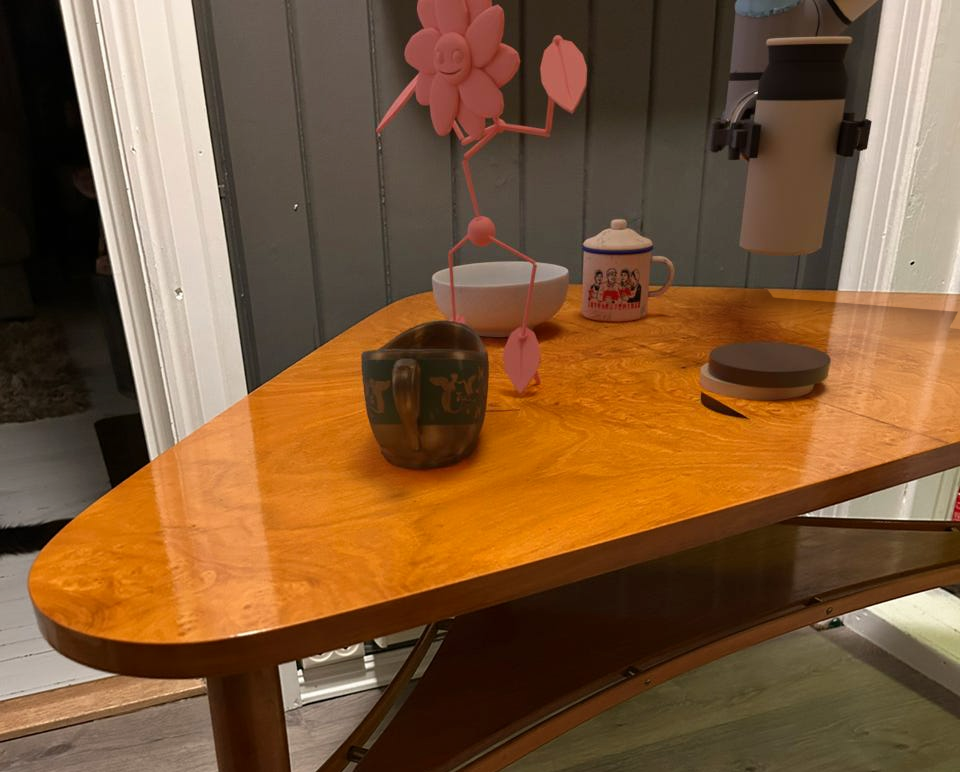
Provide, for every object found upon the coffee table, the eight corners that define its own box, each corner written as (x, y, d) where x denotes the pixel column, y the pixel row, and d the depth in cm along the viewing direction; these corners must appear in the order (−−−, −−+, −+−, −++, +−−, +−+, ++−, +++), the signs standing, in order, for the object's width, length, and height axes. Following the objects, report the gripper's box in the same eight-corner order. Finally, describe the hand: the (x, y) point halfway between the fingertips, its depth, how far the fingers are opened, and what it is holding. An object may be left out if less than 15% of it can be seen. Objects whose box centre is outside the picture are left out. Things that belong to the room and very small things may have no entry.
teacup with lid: (578, 322, 121) (582, 225, 115) (580, 307, 129) (583, 215, 123) (672, 323, 120) (681, 224, 114) (669, 308, 128) (676, 215, 122)
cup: (295, 467, 78) (279, 344, 73) (434, 404, 92) (429, 297, 87) (420, 497, 72) (412, 364, 66) (549, 425, 86) (550, 310, 81)
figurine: (425, 355, 108) (406, -11, 90) (608, 395, 94) (629, -35, 75) (323, 385, 99) (279, -18, 81) (509, 434, 84) (506, -47, 66)
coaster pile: (779, 381, 96) (785, 336, 94) (846, 413, 87) (855, 364, 85) (678, 392, 94) (682, 347, 91) (736, 427, 84) (742, 377, 82)
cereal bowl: (513, 310, 128) (512, 255, 125) (595, 331, 117) (597, 271, 113) (409, 329, 120) (405, 271, 116) (486, 354, 108) (485, 290, 105)
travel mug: (810, 258, 90) (845, 35, 80) (729, 253, 93) (753, 38, 84) (828, 246, 96) (863, 37, 86) (751, 241, 99) (776, 40, 90)
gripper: (676, 91, 104) (691, 95, 84) (870, 87, 101) (931, 90, 82) (671, 167, 108) (683, 187, 88) (857, 164, 105) (912, 185, 86)
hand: (802, 140), depth 85 cm, fingers closed on travel mug, 8 cm apart
